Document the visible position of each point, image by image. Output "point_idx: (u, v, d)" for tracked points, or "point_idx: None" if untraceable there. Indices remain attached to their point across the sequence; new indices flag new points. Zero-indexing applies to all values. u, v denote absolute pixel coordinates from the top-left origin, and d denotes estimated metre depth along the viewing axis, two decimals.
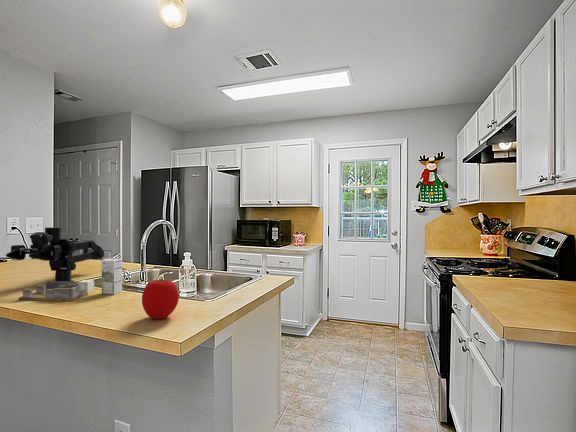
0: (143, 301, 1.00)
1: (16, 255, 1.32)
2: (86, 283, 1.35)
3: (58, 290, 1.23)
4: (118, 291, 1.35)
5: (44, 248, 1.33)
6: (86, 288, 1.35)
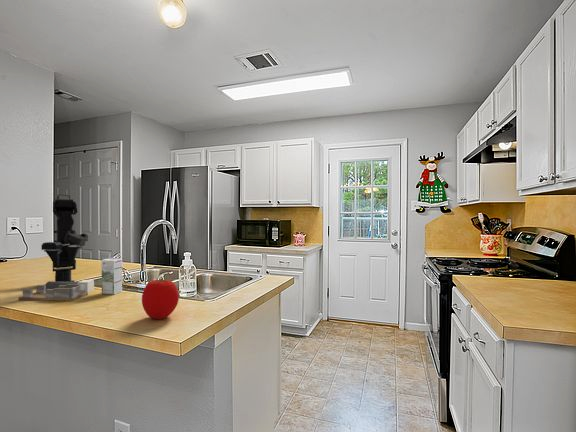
0: (143, 301, 1.00)
1: None
2: (86, 283, 1.35)
3: (58, 290, 1.23)
4: (118, 291, 1.35)
5: (78, 248, 1.44)
6: (86, 288, 1.35)
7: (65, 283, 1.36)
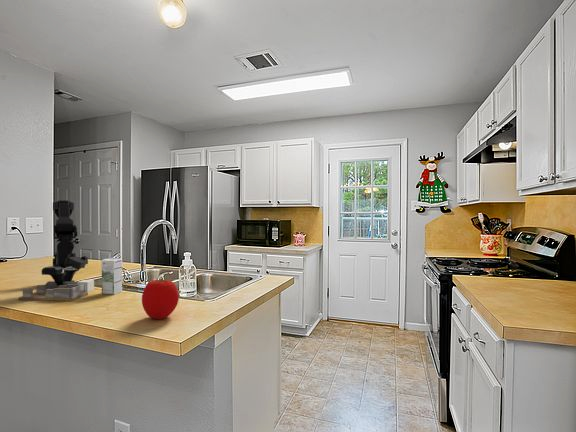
0: (143, 301, 1.00)
1: None
2: (86, 283, 1.35)
3: (58, 290, 1.23)
4: (118, 291, 1.35)
5: (75, 272, 1.41)
6: (86, 288, 1.35)
7: (65, 283, 1.36)
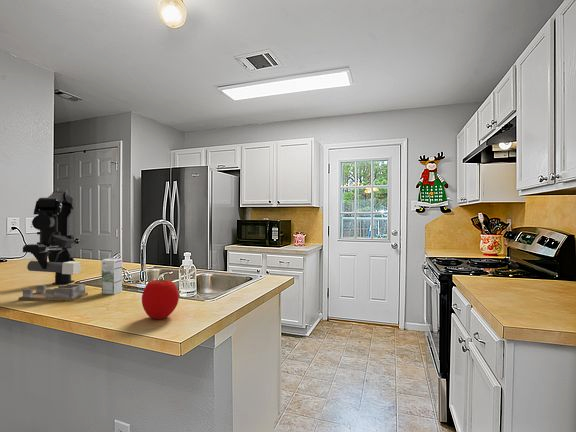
0: (143, 301, 1.00)
1: None
2: (72, 264, 1.26)
3: (58, 290, 1.23)
4: (118, 291, 1.35)
5: (60, 252, 1.32)
6: (72, 270, 1.26)
7: (49, 263, 1.27)
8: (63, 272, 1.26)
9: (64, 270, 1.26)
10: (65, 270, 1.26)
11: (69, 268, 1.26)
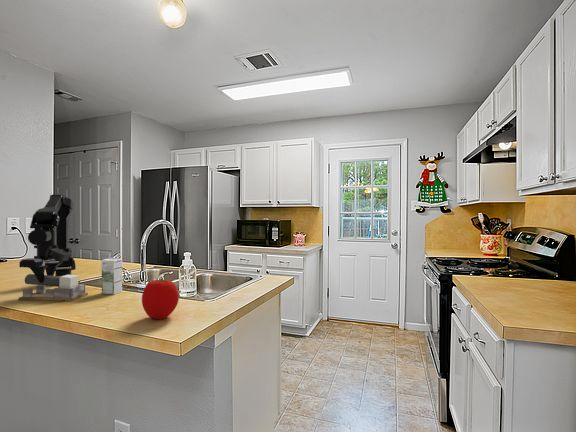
0: (143, 301, 1.00)
1: None
2: (69, 279, 1.25)
3: (58, 290, 1.23)
4: (118, 291, 1.35)
5: (57, 265, 1.31)
6: (69, 284, 1.25)
7: (47, 277, 1.26)
8: (60, 286, 1.25)
9: (61, 284, 1.25)
10: (62, 284, 1.25)
11: (66, 282, 1.25)
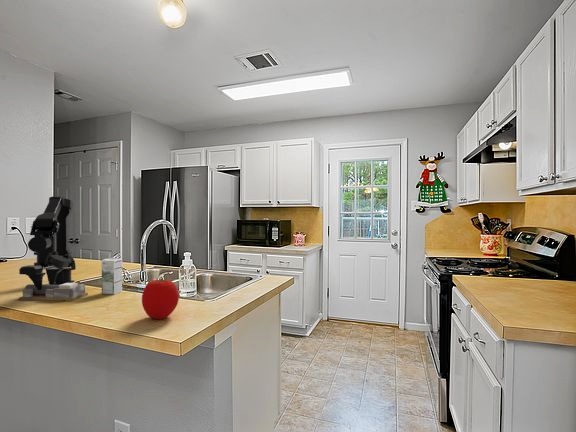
0: (143, 301, 1.00)
1: None
2: (68, 286, 1.25)
3: (58, 290, 1.23)
4: (118, 291, 1.35)
5: (59, 271, 1.32)
6: None
7: (46, 286, 1.26)
8: None
9: None
10: None
11: None
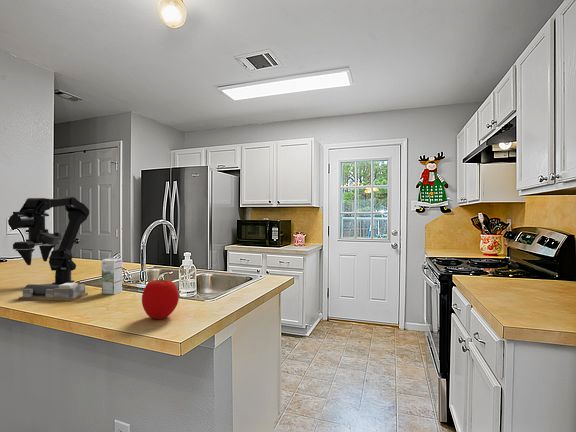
0: (143, 301, 1.00)
1: None
2: (68, 286, 1.25)
3: (58, 290, 1.23)
4: (118, 291, 1.35)
5: (52, 247, 1.44)
6: None
7: (46, 286, 1.26)
8: None
9: None
10: None
11: None
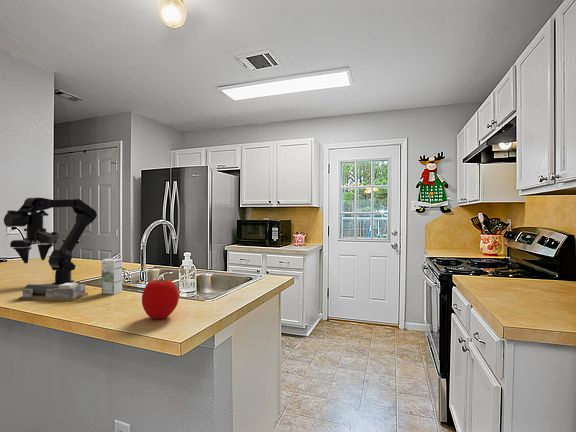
0: (143, 301, 1.00)
1: None
2: (68, 286, 1.25)
3: (58, 290, 1.23)
4: (118, 291, 1.35)
5: (50, 246, 1.46)
6: None
7: (46, 286, 1.26)
8: None
9: None
10: None
11: None
